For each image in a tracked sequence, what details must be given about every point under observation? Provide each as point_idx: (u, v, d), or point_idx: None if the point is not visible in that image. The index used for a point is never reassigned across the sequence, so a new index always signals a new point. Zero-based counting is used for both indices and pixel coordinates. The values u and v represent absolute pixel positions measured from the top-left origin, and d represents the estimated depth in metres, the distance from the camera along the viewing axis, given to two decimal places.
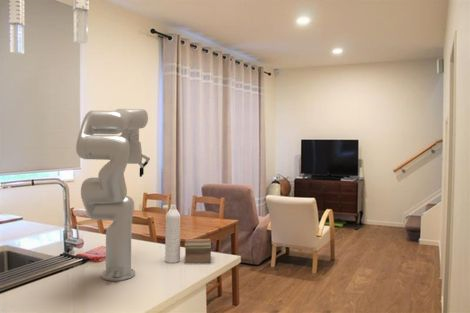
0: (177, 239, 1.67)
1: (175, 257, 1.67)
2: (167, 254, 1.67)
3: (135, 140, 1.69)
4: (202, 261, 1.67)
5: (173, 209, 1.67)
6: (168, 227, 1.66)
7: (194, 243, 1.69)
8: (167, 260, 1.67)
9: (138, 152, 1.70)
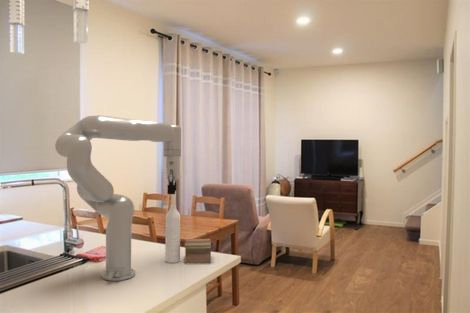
0: (177, 239, 1.67)
1: (175, 257, 1.67)
2: (167, 254, 1.67)
3: None
4: (202, 261, 1.67)
5: (173, 209, 1.67)
6: (168, 227, 1.66)
7: (194, 243, 1.69)
8: (167, 260, 1.67)
9: None
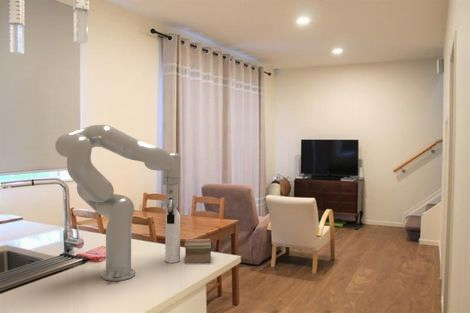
0: (177, 239, 1.67)
1: (175, 257, 1.67)
2: (167, 254, 1.67)
3: None
4: (202, 261, 1.67)
5: None
6: (168, 227, 1.66)
7: (194, 243, 1.69)
8: (167, 260, 1.67)
9: None
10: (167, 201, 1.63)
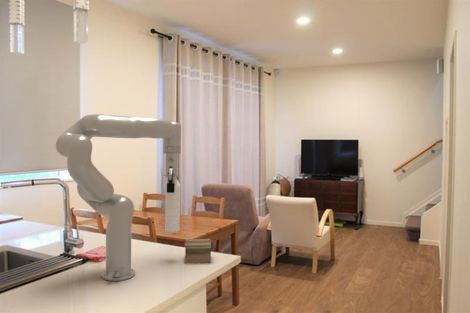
0: (177, 209, 1.66)
1: (175, 227, 1.66)
2: (167, 223, 1.66)
3: None
4: (202, 261, 1.67)
5: None
6: (168, 196, 1.65)
7: (194, 243, 1.69)
8: (167, 229, 1.66)
9: None
10: (167, 169, 1.62)
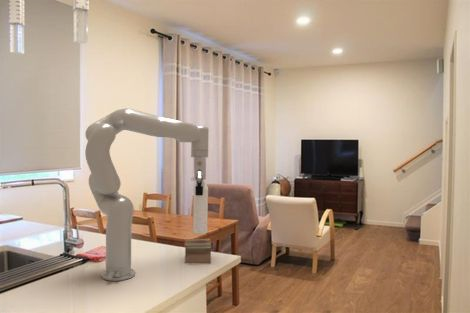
0: (205, 211, 1.69)
1: (203, 228, 1.69)
2: (195, 225, 1.69)
3: None
4: (202, 261, 1.67)
5: None
6: (196, 199, 1.68)
7: (194, 243, 1.69)
8: (195, 231, 1.69)
9: None
10: (196, 173, 1.65)
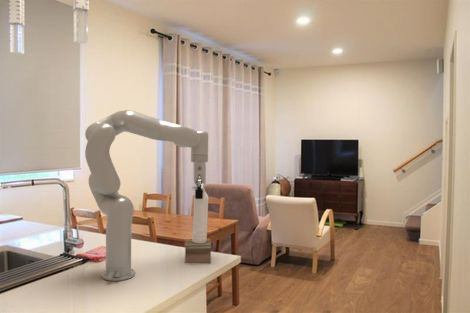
0: (205, 220, 1.69)
1: (202, 238, 1.69)
2: (194, 235, 1.69)
3: None
4: (202, 261, 1.67)
5: None
6: (196, 208, 1.68)
7: (194, 243, 1.69)
8: (194, 240, 1.69)
9: None
10: (196, 178, 1.65)
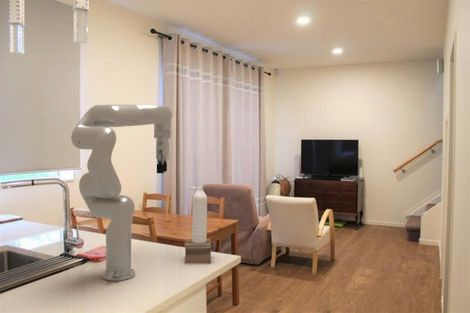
0: (204, 220, 1.69)
1: (202, 238, 1.69)
2: (194, 235, 1.69)
3: None
4: (202, 261, 1.67)
5: (200, 190, 1.69)
6: (195, 208, 1.68)
7: (194, 243, 1.69)
8: (194, 241, 1.69)
9: None
10: (157, 153, 1.71)
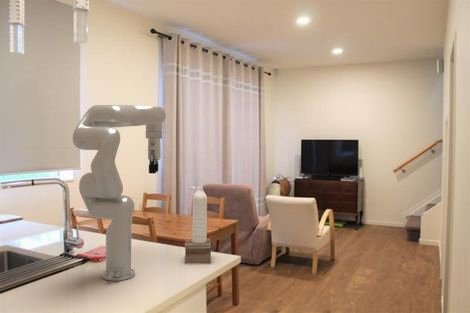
0: (204, 220, 1.69)
1: (202, 238, 1.69)
2: (194, 235, 1.69)
3: None
4: (202, 261, 1.67)
5: (200, 190, 1.70)
6: (195, 208, 1.68)
7: (194, 243, 1.69)
8: (194, 241, 1.69)
9: None
10: (149, 153, 1.72)
